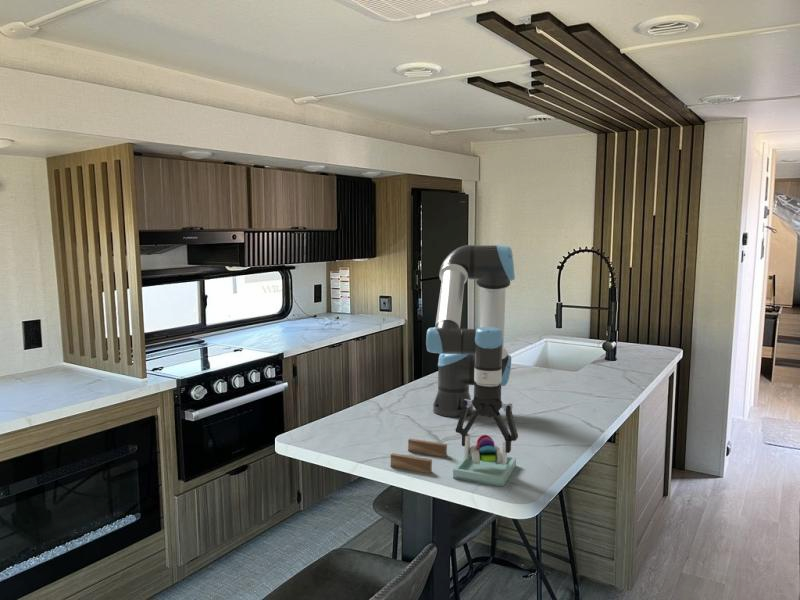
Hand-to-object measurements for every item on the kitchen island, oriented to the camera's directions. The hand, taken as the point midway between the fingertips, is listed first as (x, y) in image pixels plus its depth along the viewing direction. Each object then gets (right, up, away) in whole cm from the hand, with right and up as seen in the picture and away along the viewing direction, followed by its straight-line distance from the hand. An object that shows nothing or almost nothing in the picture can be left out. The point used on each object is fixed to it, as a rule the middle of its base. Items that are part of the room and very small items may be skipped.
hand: (485, 460), depth 171 cm
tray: (0, -3, 0) cm, 3 cm away
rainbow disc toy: (0, -1, 0) cm, 1 cm away
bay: (-18, -2, +8) cm, 20 cm away
